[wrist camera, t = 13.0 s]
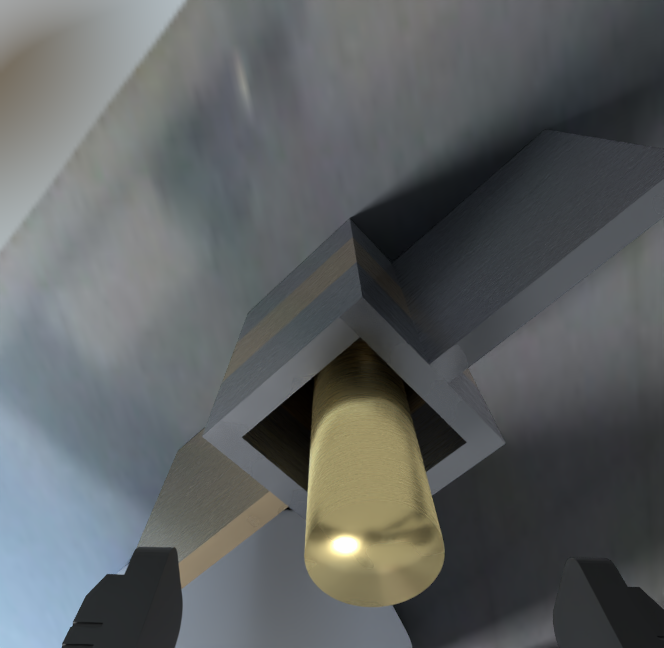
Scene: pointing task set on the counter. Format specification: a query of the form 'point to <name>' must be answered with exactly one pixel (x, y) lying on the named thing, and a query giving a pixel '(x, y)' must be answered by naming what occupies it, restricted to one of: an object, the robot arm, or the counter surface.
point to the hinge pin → (368, 487)
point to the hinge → (402, 333)
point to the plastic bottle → (277, 601)
